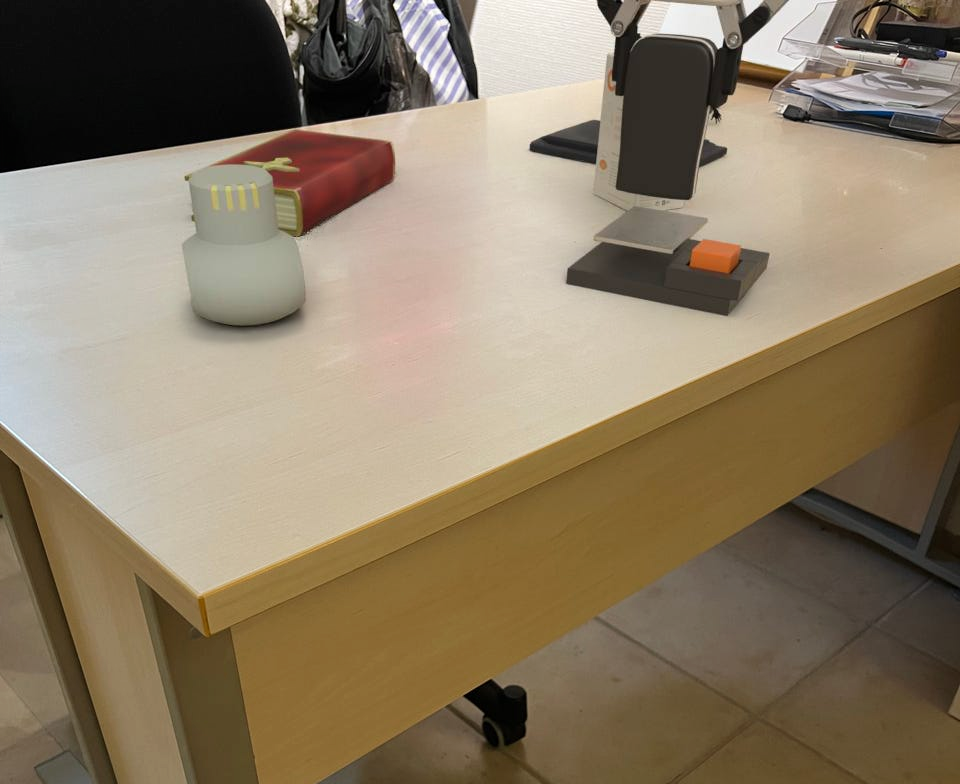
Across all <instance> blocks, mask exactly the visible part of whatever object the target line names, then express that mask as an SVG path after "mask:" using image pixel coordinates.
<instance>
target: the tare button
mask: <svg viewBox="0 0 960 784" xmlns="http://www.w3.org/2000/svg"><path fill="white" fill-rule="evenodd" d="M700 241H701V242H700V243H699V244H698V245H697V246H696V247H695V248H694V249H693V250H692V254H691V260H690V266H691V267H697V268H702V269H708V270H713V271H718V272H724V273H729V274H730V272H731V271H732V270H733V269H734V268H735V267H736V266H737V265H738V261H739V256H740V251H741V248H742V245H741V244H735V243H730V242H723V241H717V240H712V239H706V238H703V239H702V240H700Z"/></svg>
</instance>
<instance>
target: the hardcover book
mask: <svg viewBox="0 0 960 784" xmlns="http://www.w3.org/2000/svg"><path fill="white" fill-rule="evenodd" d="M217 165H249V166H255V167H259V168H262V169H265V170H266V171H267V172H268V173H269V174H270V175H271V176H272V178H273V186H274V195H275V204H276V212H277V221H278V229H279V230H282V231H284V232H286V233H288V234H289V235H291V236H293V237H301V236H302V235H303V234H305V233H307V232H309V231H310V230H313V229H314V228H316V227H317V226H319V225H320V224H322V223H324V222H325V221H328V220H329V219H331V218H332V217H334V216H336V215H337V214H340V213H341V212H342V211H344V210H346V209H347V208H349V207H351V206H353V205H354V204H356V203H358V202H359V201H361V200H363V199H364V198H366V197H368V196H369V195H371V194H372V193H374V192H376V191H377V190H379V189H381V188H382V187H385V186H386V185H388V184H390V183H392V182H393V181H394V179H395V176H396V175H395V174H396V151H395V147H394V144H393V141H392V140H387V139H378V138H372V137H371V138H370V137H363V136H362V137H361V136H356V135H355V136H354V135H345V134H337V133H329V132H321V131H313V130H304V129H292V130H290V131H287V132H285V133H283V134H281V135H278V136H275V137H273V138H271V139H268V140H266V141H264V142H261V143H259V144H256V145H254V146H252V147H250V148H247V149H245V150H243V151H240V152H237V153H236V154H233V155H231V156H229V157H226V158H224V159H221V160H219V161H217V162H214V163H212V164H209V165H207V166H205V167H204V168H206V167H210V166H217ZM194 172H195V171H193V172H191V173H188V174H186V175H184V182H189V178H190V177H191V175H192V174H193V173H194ZM190 219H191V221H194V222H195V219H194V214H192V215H190Z"/></svg>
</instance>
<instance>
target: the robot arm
mask: <svg viewBox="0 0 960 784" xmlns="http://www.w3.org/2000/svg"><path fill="white" fill-rule="evenodd" d="M595 1H596V4H597V7H598V9H599V11H600V13H601V14H602V16H603V17H604V19H605V20H606V22H607V24H608V25H609V27H610V33H611V34H612V36H613V37H615V38H614V39H615V40H614V49H613V53H614V58H613V68H612V81H615V82H616V87H615V95H616V96H624V87H625V79H626V71H627V64H628V59H629V55H630V52H631V49H632V47H633V46H634V44H635V43H636V41H637V40H639V39H640V38H642V37H643V36H642V35H641V33H640V32H638V30H639V26H638V25H639V24H640V22H641V20H642V18H643V16H644V15H645V12H646V11H647V9H648V7H649V5H650V4H651V2H652V1H654V2H664V3H672V4H673V3H676V4H685V5H686V4H687V5H696V6H708V7H709V6H711V7H716V12H717V15H718V20H719V23H720V27H721V31H722V34H723V40H722V45H721V46H720V47H719V48H718V50H717V52H716V58H715V64H714V71H713V77H712V83H711V89H710V96H709V102H708V105H709V106H710V107H711V108H716V109H719V108H720V107H722V106H723V105H725V104H726V103H727V101H728V98H729V96H734V94H735V92H736V89H737V83H738V80H739V79H738V78H739V72H740V67H741V62H742V55H743V50H744V46H745V44H747V43H748V42H749V40H751V39H752V38H753V37H754V36H756V34H757V33H759V32H760V30H762V29H763V28H764V27H765V26H767V24H769V22H771V21H772V19H773V18H774V17H775V16H776V14H777V13H779V12H780V11H781V10H782V8H784V6H786V4H788V2H789V1H790V0H763V1H762V2H760V4H759V5H758V6H757V7H756V8H755V9H754V10H753V11H751V12H750V13H749V14H748V15H747V12H746V8H745V4H744V0H595Z"/></svg>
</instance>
